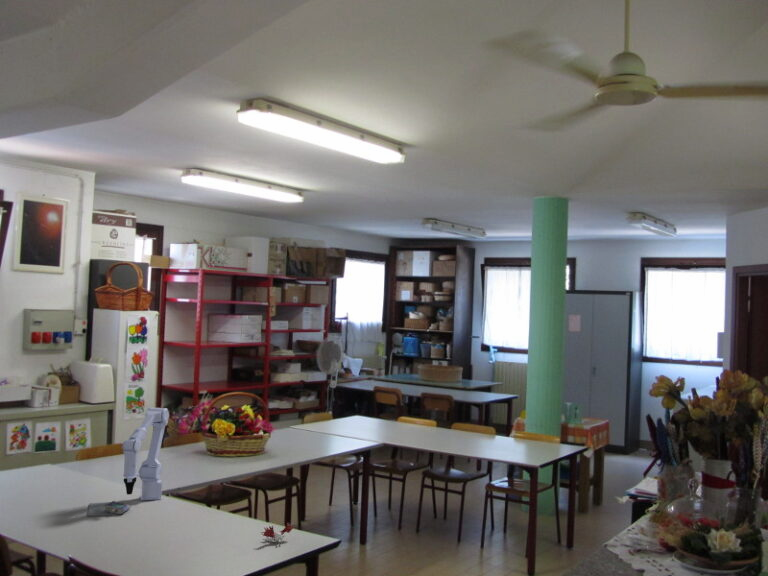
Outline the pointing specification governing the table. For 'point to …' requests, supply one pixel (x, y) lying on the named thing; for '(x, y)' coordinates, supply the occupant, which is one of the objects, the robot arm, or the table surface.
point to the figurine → (276, 535)
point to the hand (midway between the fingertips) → (129, 494)
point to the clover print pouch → (117, 507)
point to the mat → (99, 509)
